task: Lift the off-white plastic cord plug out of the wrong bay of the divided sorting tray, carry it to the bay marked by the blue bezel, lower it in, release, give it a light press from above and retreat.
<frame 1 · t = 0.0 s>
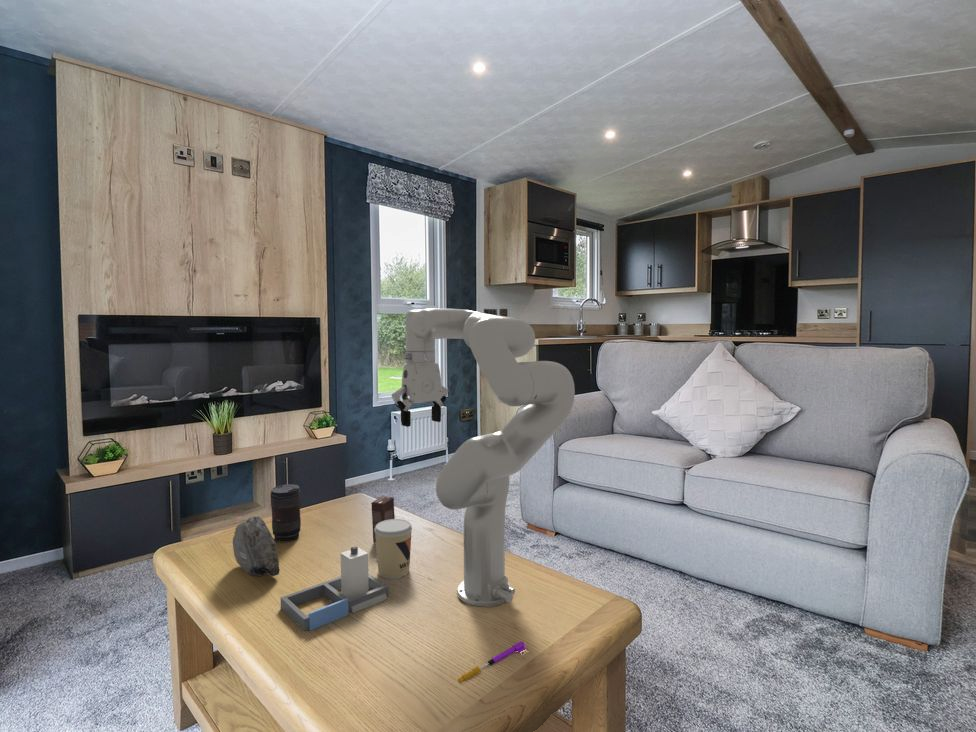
hand: (421, 423, 136), 37 cm above the table, tool pointing down, fingers open, 9 cm apart
plug: (355, 595, 121), resting in divided sorting tray
box: (383, 540, 153), on the table
divided sorting tray: (335, 602, 118), on the table
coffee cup: (393, 572, 133), on the table
purple and yellow tool: (495, 667, 96), on the table
camera lens: (286, 538, 154), on the table
decorative rock: (255, 574, 132), on the table
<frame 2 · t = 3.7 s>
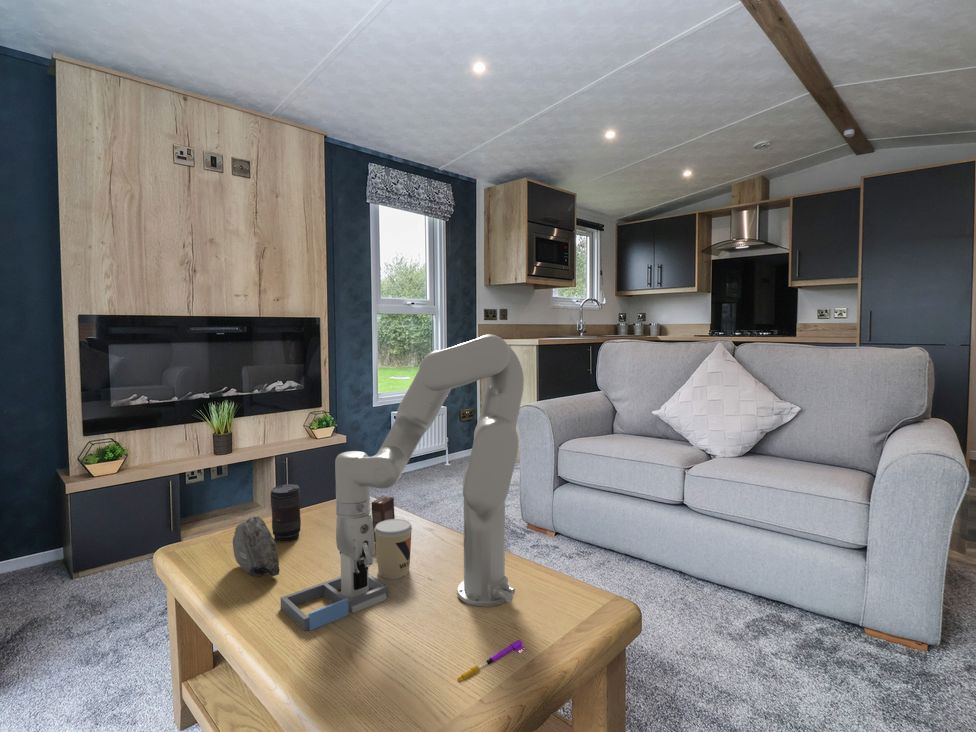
hand: (354, 583, 121), 3 cm above the table, tool pointing down, fingers closed on plug, 4 cm apart
plug: (355, 595, 121), resting in divided sorting tray, touching gripper
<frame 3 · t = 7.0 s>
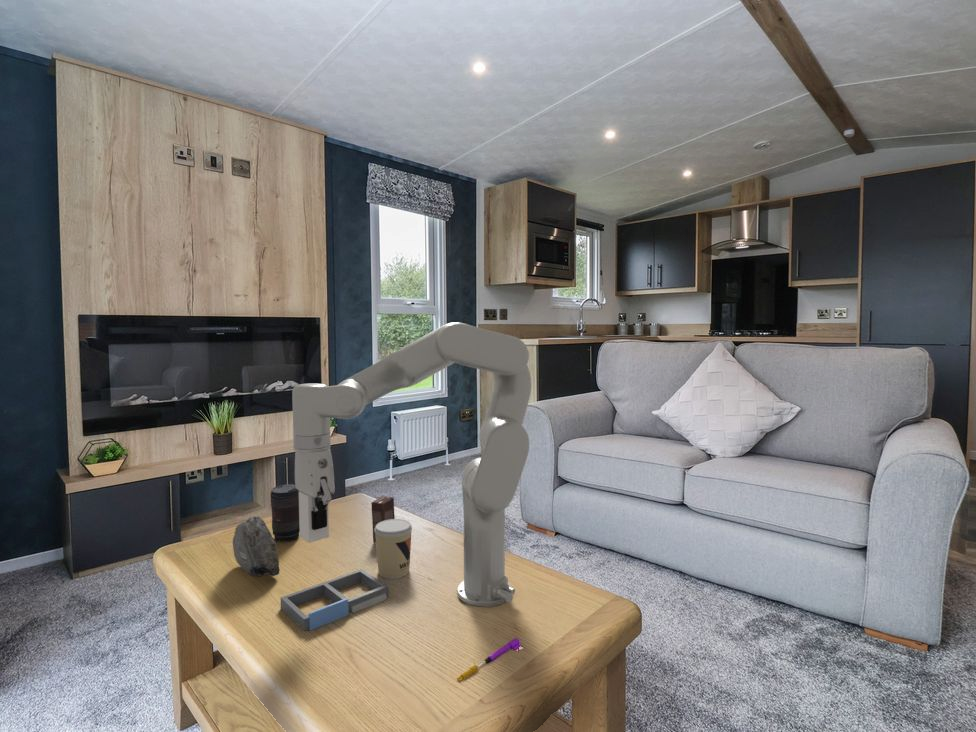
hand: (314, 523, 113), 19 cm above the table, tool pointing down, fingers closed on plug, 4 cm apart
plug: (314, 537, 113), point 16 cm above the table, touching gripper
when the fingers open (4 cm above the table, at t = 10.1 s): plug drops 1 cm, resting in divided sorting tray.
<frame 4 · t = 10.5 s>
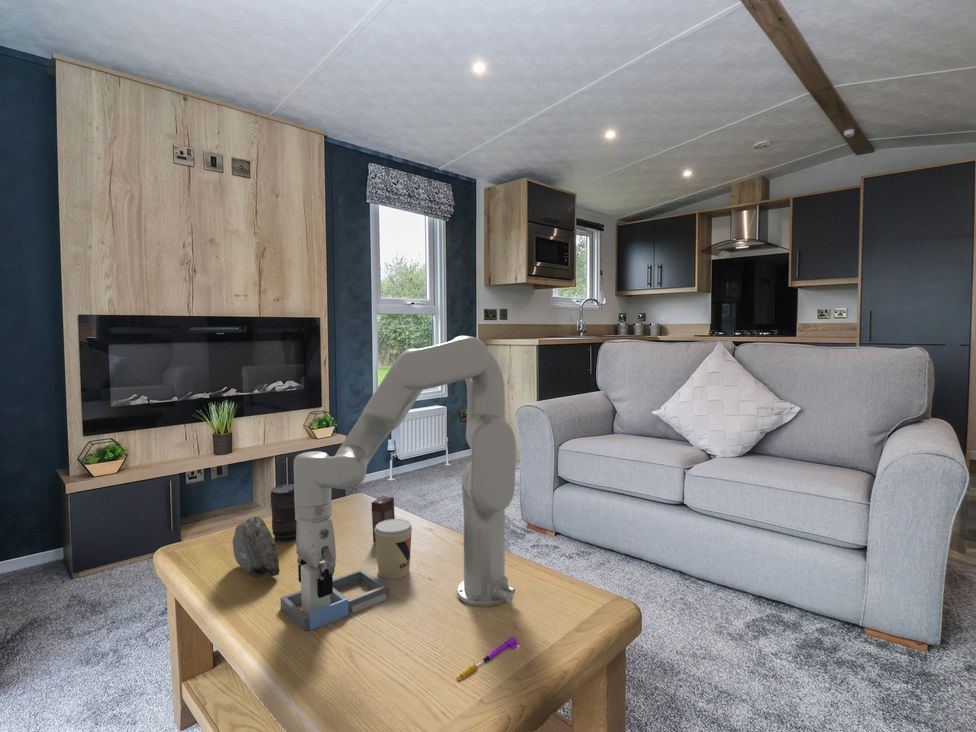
hand: (315, 587, 114), 5 cm above the table, tool pointing down, fingers open, 8 cm apart
plug: (316, 610, 114), resting in divided sorting tray
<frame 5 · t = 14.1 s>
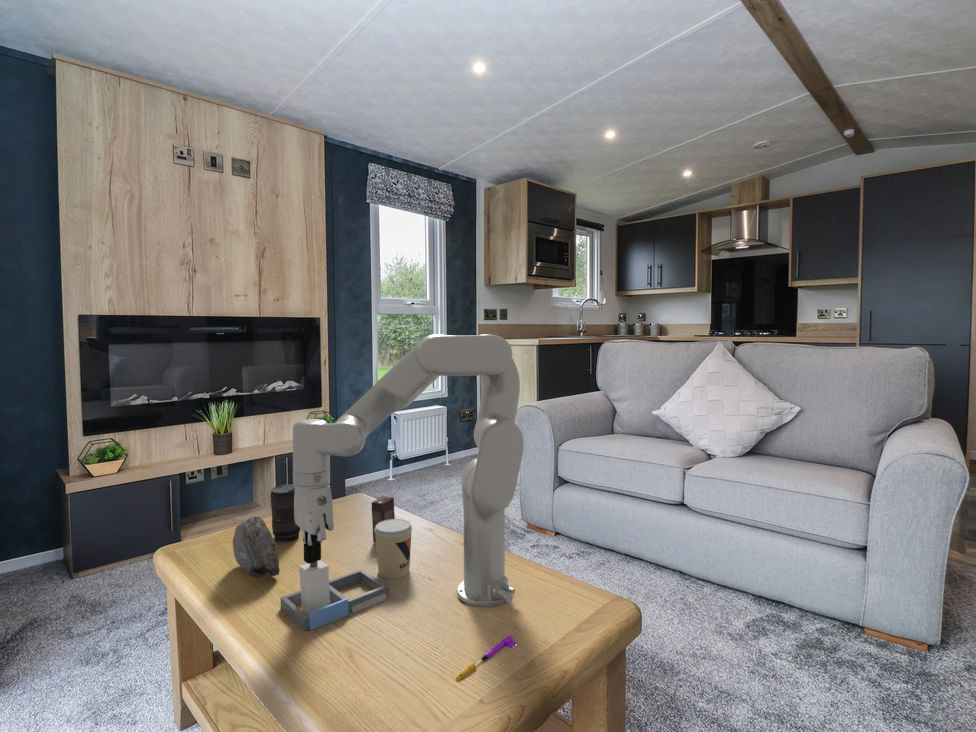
hand: (312, 560, 113), 11 cm above the table, tool pointing down, fingers closed
plug: (316, 610, 114), resting in divided sorting tray, touching gripper
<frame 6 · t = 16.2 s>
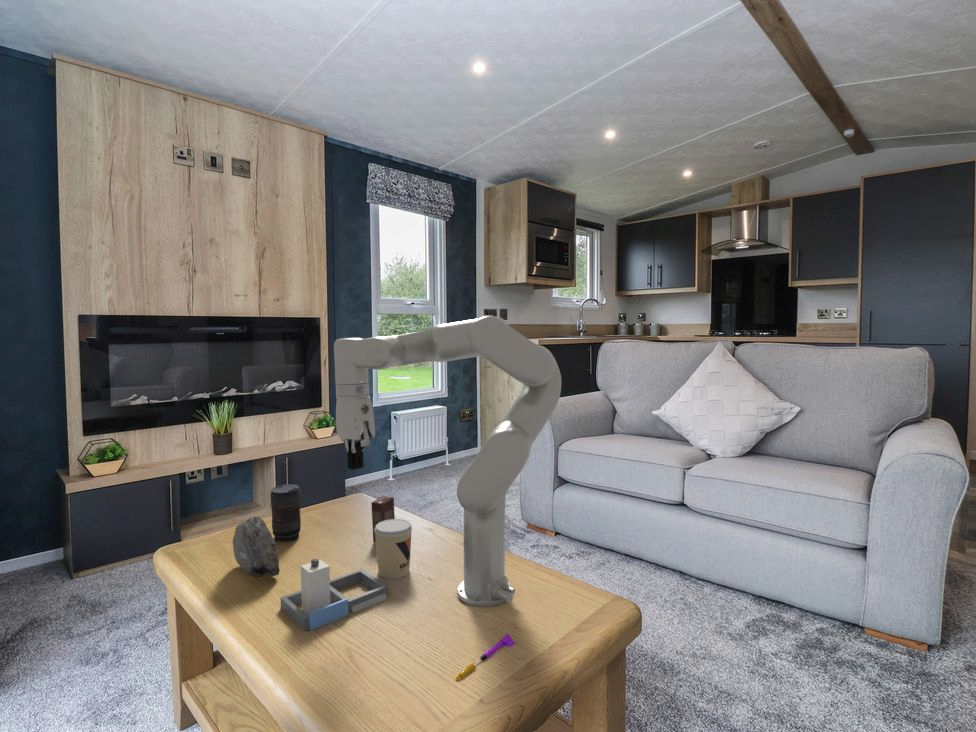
hand: (355, 468, 123), 29 cm above the table, tool pointing down, fingers closed
plug: (316, 610, 114), resting in divided sorting tray
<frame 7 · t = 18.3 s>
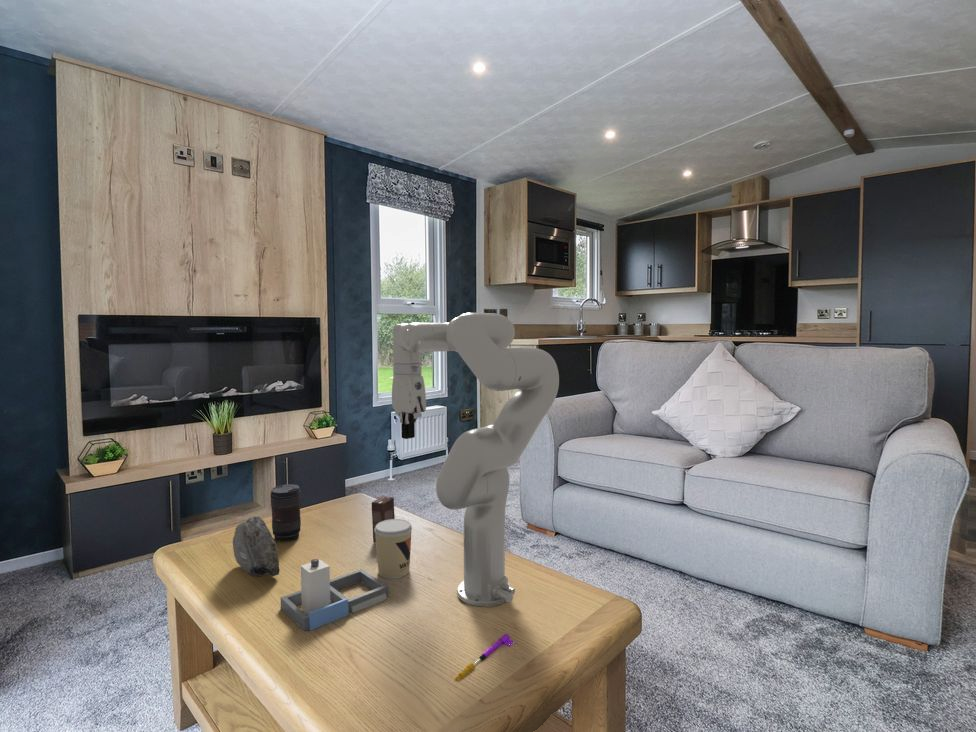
hand: (408, 437, 141), 32 cm above the table, tool pointing down, fingers closed
at the end: plug inside the target area on the divided sorting tray (0.0 cm from its centre), point 0.0 cm above the divided sorting tray's base; plug tilted 0°; the gripper is holding nothing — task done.
